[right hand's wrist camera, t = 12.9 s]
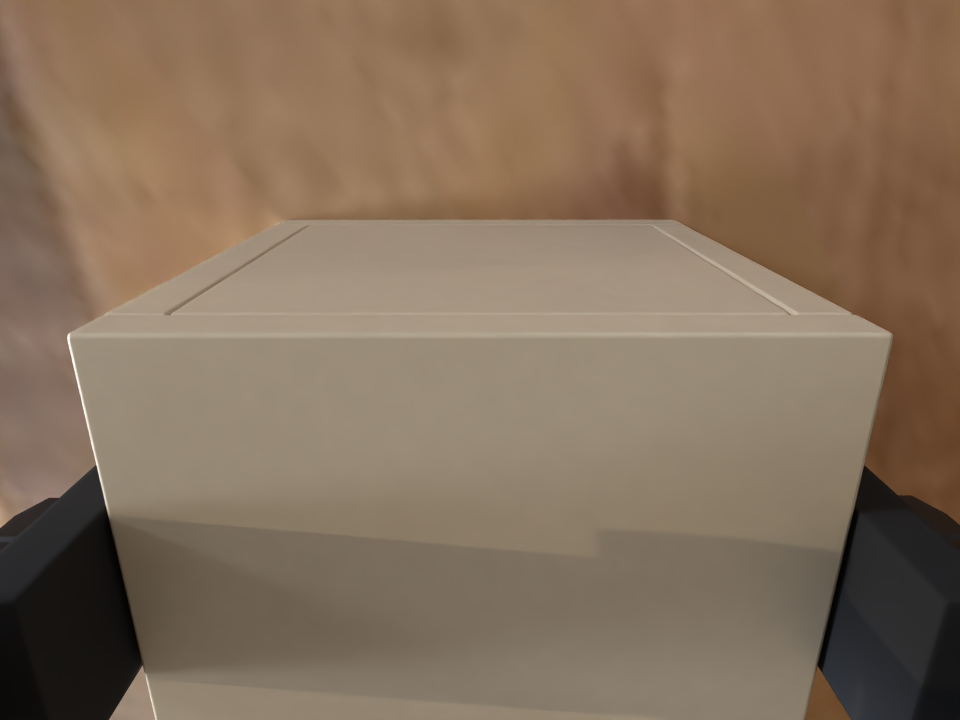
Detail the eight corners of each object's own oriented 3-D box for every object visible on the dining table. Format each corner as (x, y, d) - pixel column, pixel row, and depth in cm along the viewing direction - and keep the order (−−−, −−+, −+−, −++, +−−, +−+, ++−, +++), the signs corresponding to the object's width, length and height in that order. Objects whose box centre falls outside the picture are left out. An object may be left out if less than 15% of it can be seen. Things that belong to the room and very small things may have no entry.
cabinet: (615, 810, 24) (692, 1208, 15) (344, 810, 24) (266, 1208, 15) (676, 218, 16) (897, 333, 8) (283, 219, 16) (63, 333, 8)
